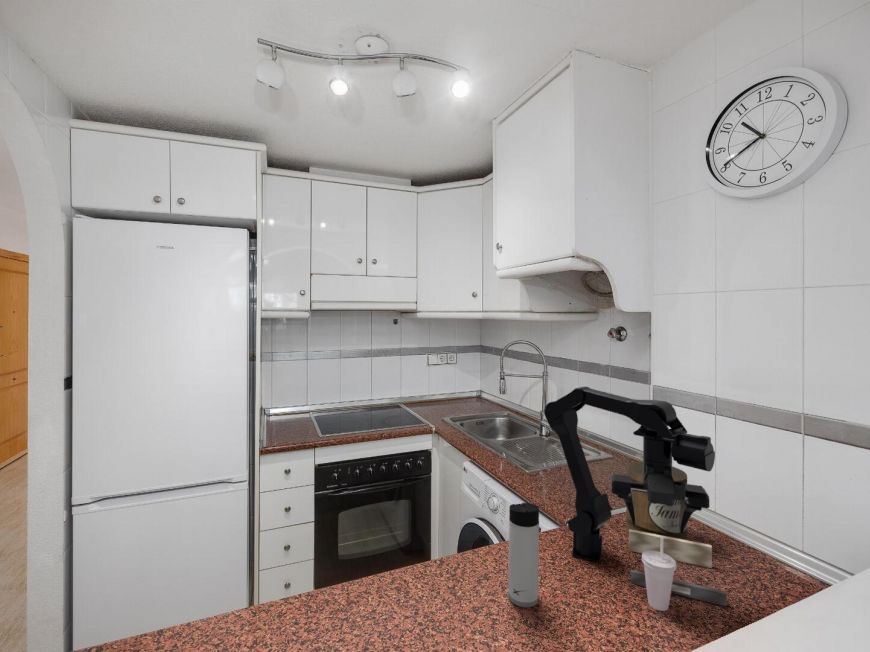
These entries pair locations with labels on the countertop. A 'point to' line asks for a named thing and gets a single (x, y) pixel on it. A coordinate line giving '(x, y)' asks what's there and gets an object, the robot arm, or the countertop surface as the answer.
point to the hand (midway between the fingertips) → (656, 528)
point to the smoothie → (658, 577)
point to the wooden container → (654, 508)
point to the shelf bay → (678, 552)
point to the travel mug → (523, 554)
